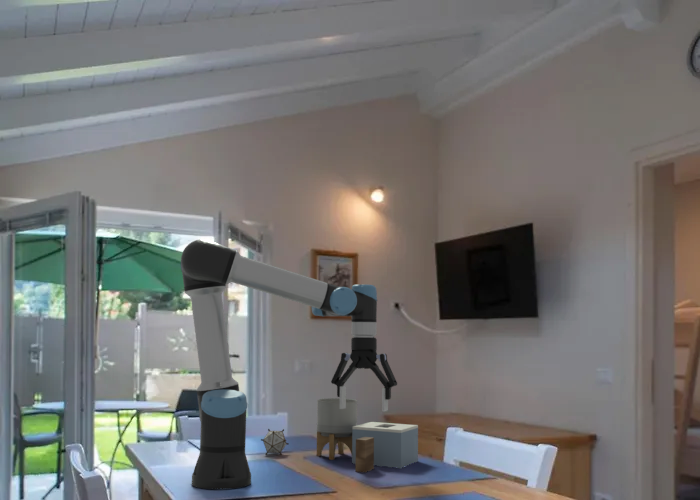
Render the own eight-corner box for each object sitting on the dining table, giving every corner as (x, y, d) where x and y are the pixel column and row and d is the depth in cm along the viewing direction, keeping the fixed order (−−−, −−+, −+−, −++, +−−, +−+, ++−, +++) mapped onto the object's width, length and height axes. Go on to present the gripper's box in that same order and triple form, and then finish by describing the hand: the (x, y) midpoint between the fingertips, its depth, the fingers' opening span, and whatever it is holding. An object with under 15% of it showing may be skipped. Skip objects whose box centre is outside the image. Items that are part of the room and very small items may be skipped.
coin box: (400, 468, 207) (401, 430, 209) (352, 463, 214) (352, 426, 216) (417, 461, 220) (418, 425, 221) (371, 456, 227) (371, 421, 228)
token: (373, 469, 206) (373, 437, 207) (364, 472, 200) (365, 440, 202) (364, 468, 207) (364, 436, 208) (355, 471, 202) (355, 439, 203)
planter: (311, 458, 222) (312, 401, 224) (322, 452, 235) (323, 397, 237) (351, 460, 219) (352, 402, 221) (360, 454, 232) (361, 399, 234)
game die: (278, 465, 230) (296, 439, 234) (274, 460, 223) (292, 433, 226) (257, 450, 233) (275, 424, 236) (252, 444, 226) (270, 418, 229)
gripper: (407, 337, 207) (408, 410, 205) (332, 336, 218) (331, 406, 215) (398, 337, 201) (398, 413, 198) (320, 336, 211) (319, 408, 209)
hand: (363, 410), depth 207 cm, fingers open, 13 cm apart
